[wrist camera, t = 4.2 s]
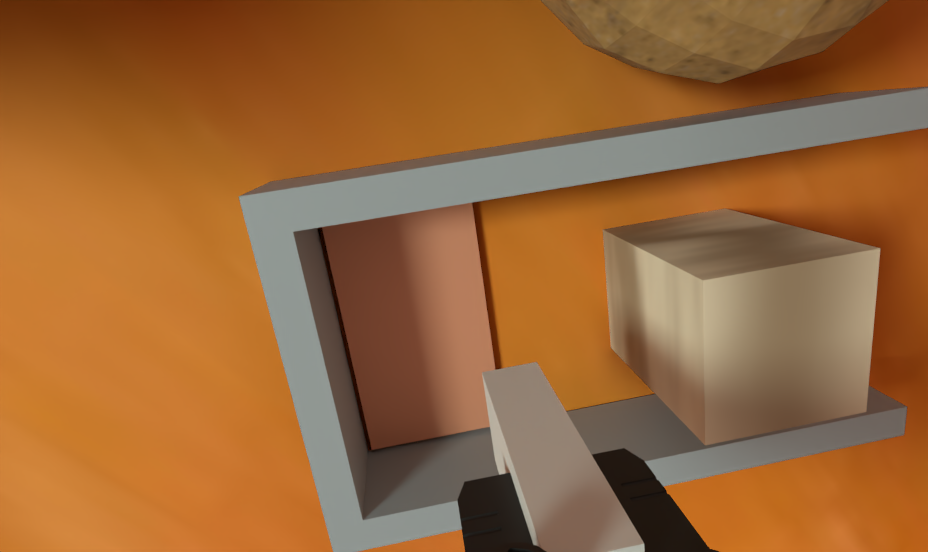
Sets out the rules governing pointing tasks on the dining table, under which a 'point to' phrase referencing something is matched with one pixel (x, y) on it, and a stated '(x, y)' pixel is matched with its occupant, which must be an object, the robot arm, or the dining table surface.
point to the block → (743, 320)
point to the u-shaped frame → (466, 319)
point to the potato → (710, 32)
